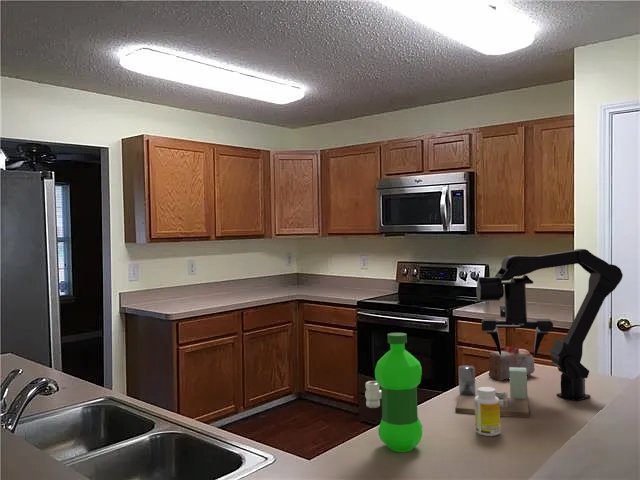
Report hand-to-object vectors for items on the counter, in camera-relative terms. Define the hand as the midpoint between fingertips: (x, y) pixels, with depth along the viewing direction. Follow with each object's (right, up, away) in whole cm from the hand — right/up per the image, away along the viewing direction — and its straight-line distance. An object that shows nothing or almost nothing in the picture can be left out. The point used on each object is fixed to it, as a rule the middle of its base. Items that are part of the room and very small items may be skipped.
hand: (517, 355), depth 154 cm
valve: (-37, -14, -3) cm, 40 cm away
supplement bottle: (-16, -13, -26) cm, 33 cm away
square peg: (0, -12, 0) cm, 12 cm away
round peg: (-13, -12, +5) cm, 19 cm away
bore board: (-10, -12, -8) cm, 18 cm away
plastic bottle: (-38, -14, -33) cm, 52 cm away
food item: (+6, -12, +23) cm, 27 cm away
